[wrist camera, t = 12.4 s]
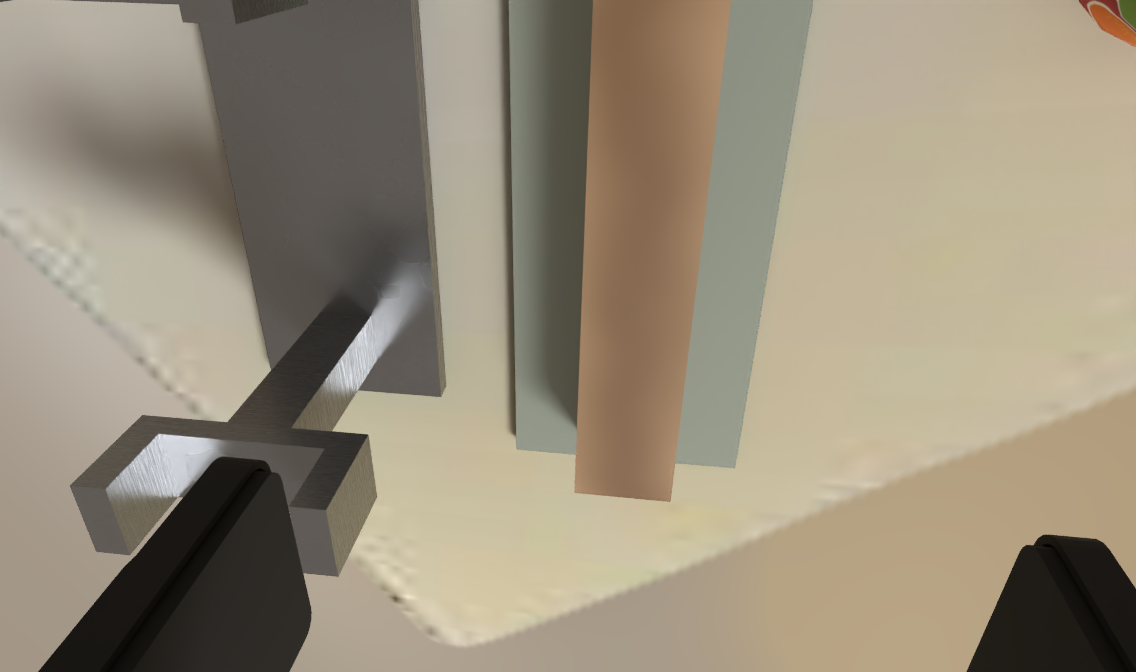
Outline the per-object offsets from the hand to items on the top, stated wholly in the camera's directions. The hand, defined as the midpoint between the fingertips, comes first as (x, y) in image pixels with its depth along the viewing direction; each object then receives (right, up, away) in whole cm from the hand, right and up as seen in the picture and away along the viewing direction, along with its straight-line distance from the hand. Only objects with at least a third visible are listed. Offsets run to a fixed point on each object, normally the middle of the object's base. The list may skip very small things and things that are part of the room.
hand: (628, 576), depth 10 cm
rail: (+2, +8, +15) cm, 18 cm away
